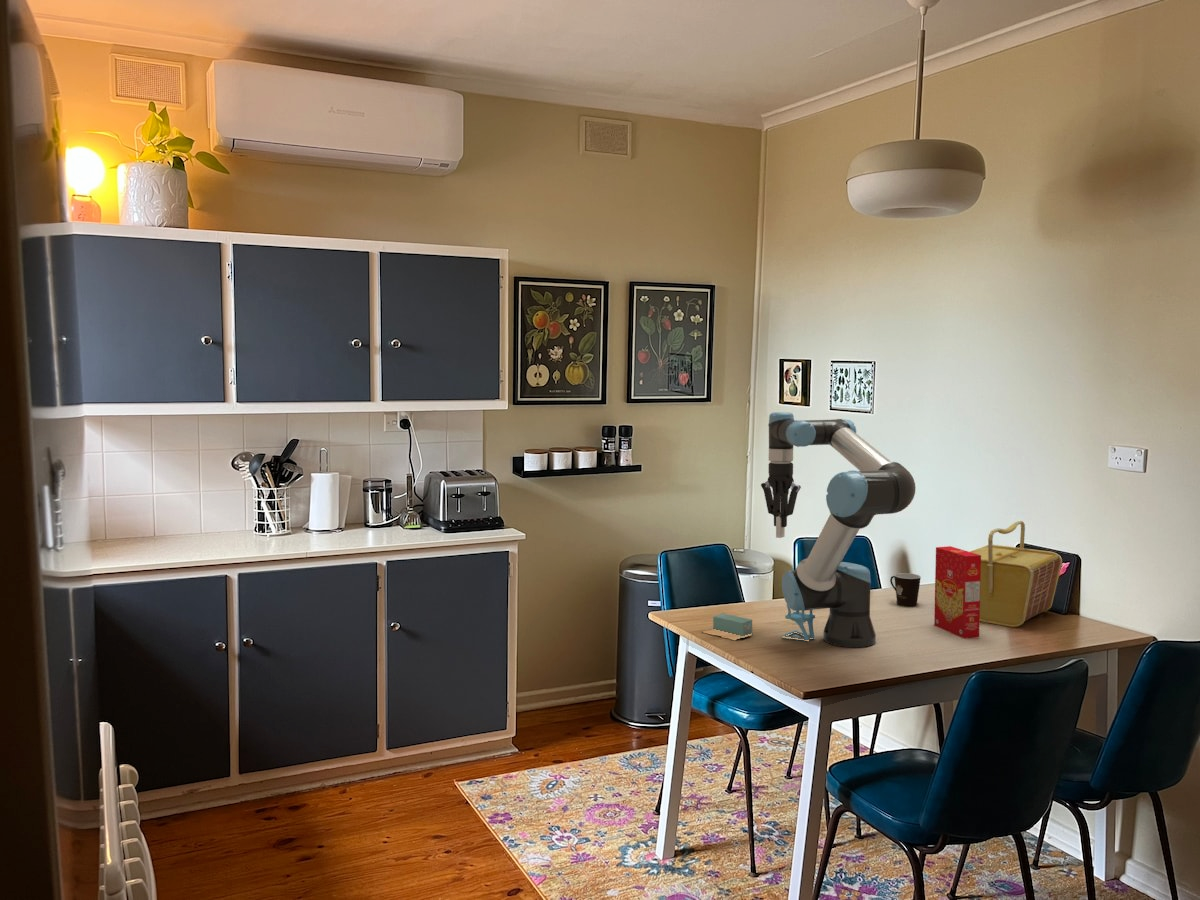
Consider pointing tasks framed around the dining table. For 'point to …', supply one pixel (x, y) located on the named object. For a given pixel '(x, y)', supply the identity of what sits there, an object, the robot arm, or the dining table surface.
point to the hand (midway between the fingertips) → (780, 536)
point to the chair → (801, 623)
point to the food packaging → (957, 591)
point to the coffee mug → (906, 589)
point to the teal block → (732, 624)
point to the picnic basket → (1016, 580)
